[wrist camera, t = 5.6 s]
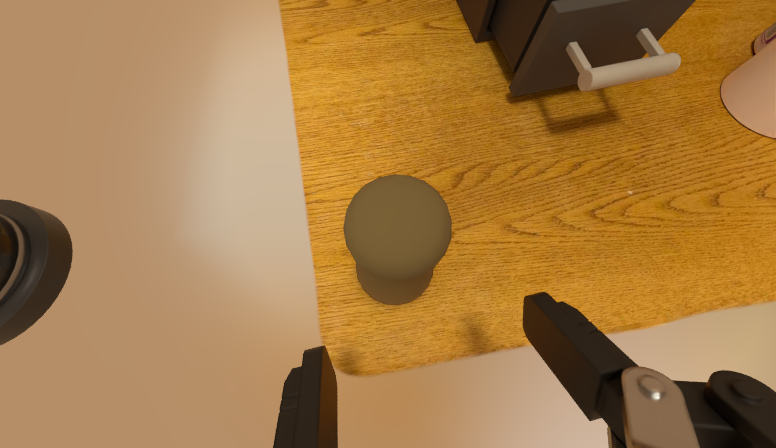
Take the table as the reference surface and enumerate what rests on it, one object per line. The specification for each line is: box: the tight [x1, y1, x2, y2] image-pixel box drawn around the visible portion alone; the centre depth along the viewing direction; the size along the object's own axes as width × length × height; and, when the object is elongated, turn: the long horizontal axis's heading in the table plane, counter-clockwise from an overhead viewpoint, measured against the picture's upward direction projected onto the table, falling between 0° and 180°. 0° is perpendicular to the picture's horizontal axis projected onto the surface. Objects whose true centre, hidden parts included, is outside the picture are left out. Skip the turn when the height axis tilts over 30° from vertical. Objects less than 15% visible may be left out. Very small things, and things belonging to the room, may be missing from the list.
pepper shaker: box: [343, 174, 452, 305], centre depth 18 cm, size 6×6×11 cm
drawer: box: [489, 0, 695, 97], centre depth 26 cm, size 18×11×8 cm, turn 13°
